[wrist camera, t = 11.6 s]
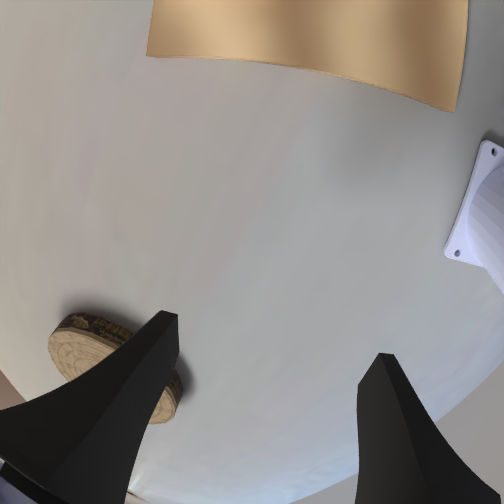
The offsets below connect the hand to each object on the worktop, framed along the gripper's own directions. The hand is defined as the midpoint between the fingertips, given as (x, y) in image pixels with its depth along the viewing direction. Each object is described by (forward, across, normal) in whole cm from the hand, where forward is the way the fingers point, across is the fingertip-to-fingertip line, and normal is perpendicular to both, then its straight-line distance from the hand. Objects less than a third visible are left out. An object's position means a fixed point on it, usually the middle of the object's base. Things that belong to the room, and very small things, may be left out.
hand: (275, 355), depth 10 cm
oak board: (+9, +1, -17) cm, 19 cm away
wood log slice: (+10, +15, +20) cm, 27 cm away
